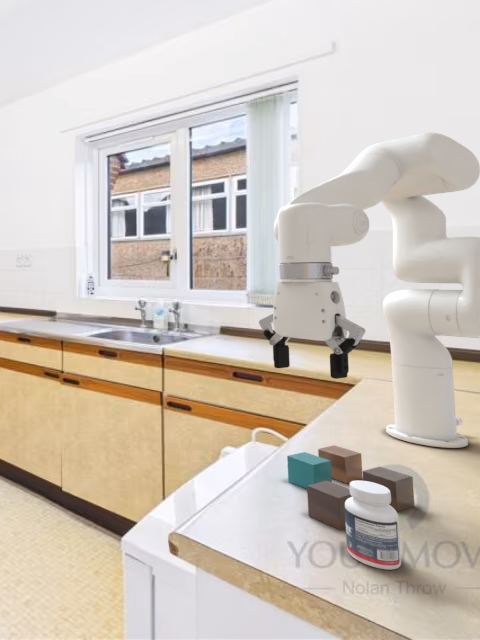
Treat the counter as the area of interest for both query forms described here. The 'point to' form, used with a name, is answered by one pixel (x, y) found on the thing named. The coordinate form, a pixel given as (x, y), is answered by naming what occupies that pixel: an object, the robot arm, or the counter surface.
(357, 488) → the pill bottle
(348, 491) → the brown cube
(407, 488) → the taupe block
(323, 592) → the counter surface
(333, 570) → the counter surface
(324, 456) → the caramel wooden cube
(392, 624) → the counter surface
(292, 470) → the teal toy cube
